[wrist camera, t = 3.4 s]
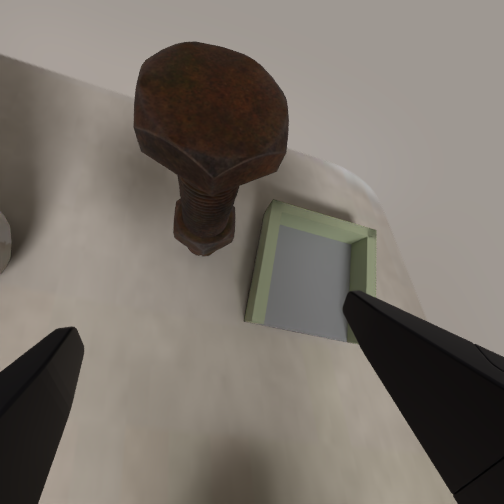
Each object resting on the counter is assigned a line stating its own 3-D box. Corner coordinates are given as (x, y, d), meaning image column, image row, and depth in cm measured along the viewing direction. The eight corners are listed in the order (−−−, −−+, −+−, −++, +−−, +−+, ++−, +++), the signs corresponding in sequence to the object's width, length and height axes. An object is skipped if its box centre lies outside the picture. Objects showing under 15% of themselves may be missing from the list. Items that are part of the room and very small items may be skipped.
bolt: (159, 245, 21) (86, 87, 7) (192, 205, 22) (187, 13, 8) (215, 280, 21) (255, 197, 7) (242, 237, 23) (318, 103, 9)
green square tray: (352, 343, 22) (375, 346, 19) (243, 321, 20) (251, 321, 18) (356, 240, 26) (376, 230, 23) (264, 213, 24) (273, 199, 21)
